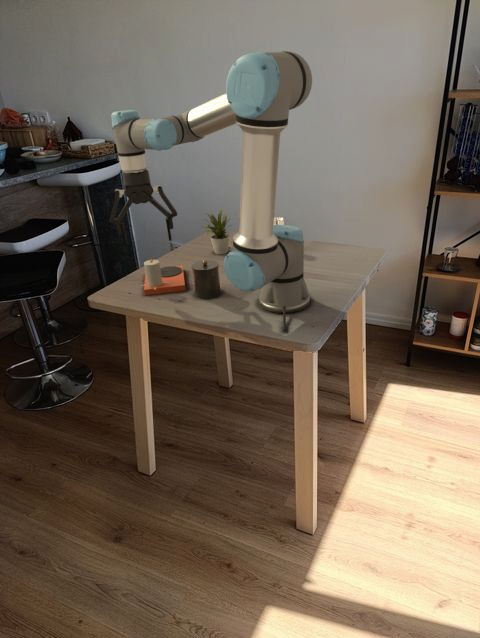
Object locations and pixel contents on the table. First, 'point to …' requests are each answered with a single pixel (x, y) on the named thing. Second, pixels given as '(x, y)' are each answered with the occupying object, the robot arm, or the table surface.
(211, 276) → the enamel pot
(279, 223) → the wineglass
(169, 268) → the burner
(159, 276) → the hob knob
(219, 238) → the house plant
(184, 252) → the table surface
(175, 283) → the hot plate
